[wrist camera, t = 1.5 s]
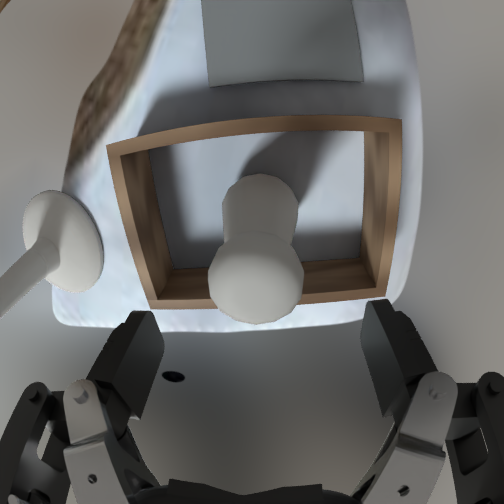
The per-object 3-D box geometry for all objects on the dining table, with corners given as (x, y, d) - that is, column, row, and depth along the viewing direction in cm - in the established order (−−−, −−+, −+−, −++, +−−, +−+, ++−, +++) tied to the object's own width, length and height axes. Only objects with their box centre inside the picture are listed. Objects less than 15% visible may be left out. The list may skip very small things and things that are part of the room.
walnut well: (135, 137, 20) (106, 145, 16) (374, 117, 19) (401, 119, 14) (167, 278, 27) (150, 309, 22) (367, 266, 25) (385, 296, 21)
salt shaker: (303, 178, 22) (347, 252, 10) (285, 239, 24) (301, 352, 13) (232, 161, 21) (194, 218, 10) (220, 225, 24) (182, 330, 12)
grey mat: (200, -26, 13) (199, -29, 12) (340, -31, 12) (342, -33, 11) (210, 87, 18) (209, 87, 18) (360, 82, 17) (363, 81, 17)
